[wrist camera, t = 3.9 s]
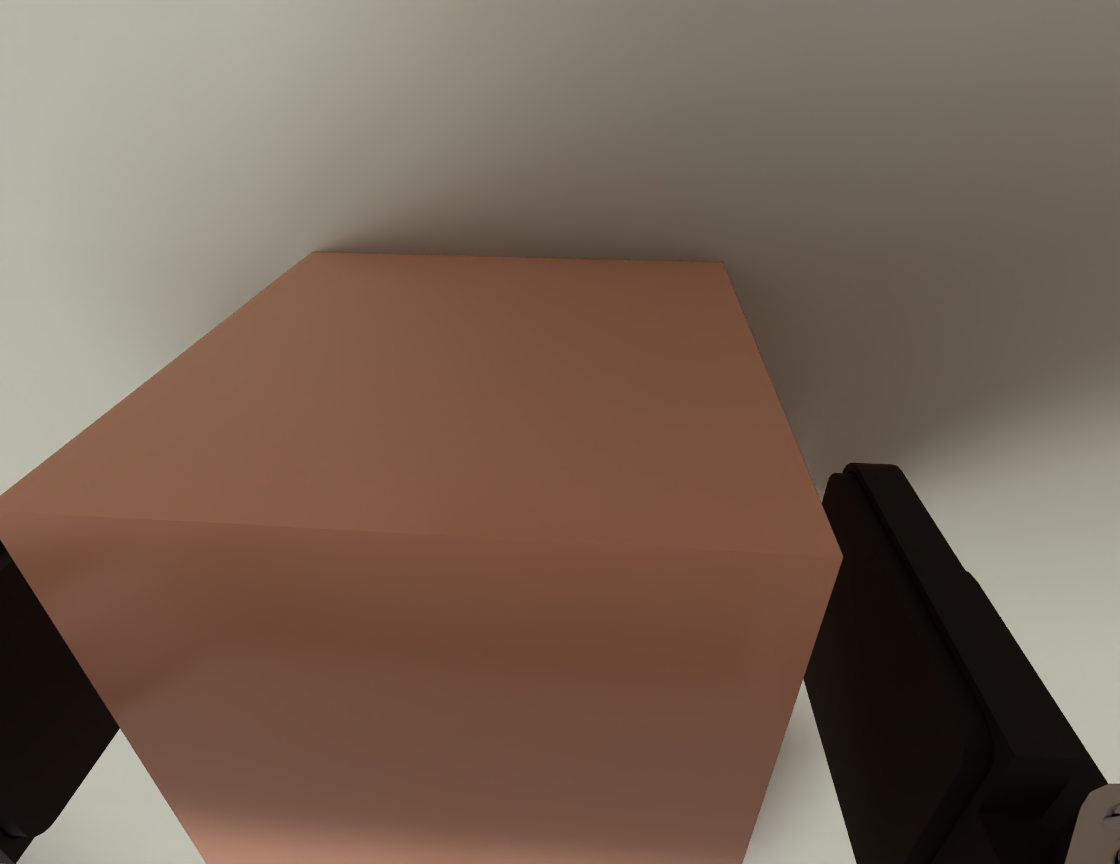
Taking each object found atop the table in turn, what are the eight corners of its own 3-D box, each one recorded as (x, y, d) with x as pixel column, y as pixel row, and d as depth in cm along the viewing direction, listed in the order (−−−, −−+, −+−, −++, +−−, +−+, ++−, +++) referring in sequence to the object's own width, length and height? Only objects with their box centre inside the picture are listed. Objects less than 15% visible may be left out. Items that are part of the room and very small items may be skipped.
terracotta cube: (722, 260, 9) (843, 557, 4) (679, 564, 12) (719, 934, 7) (314, 250, 10) (-19, 510, 5) (376, 547, 13) (222, 888, 8)
